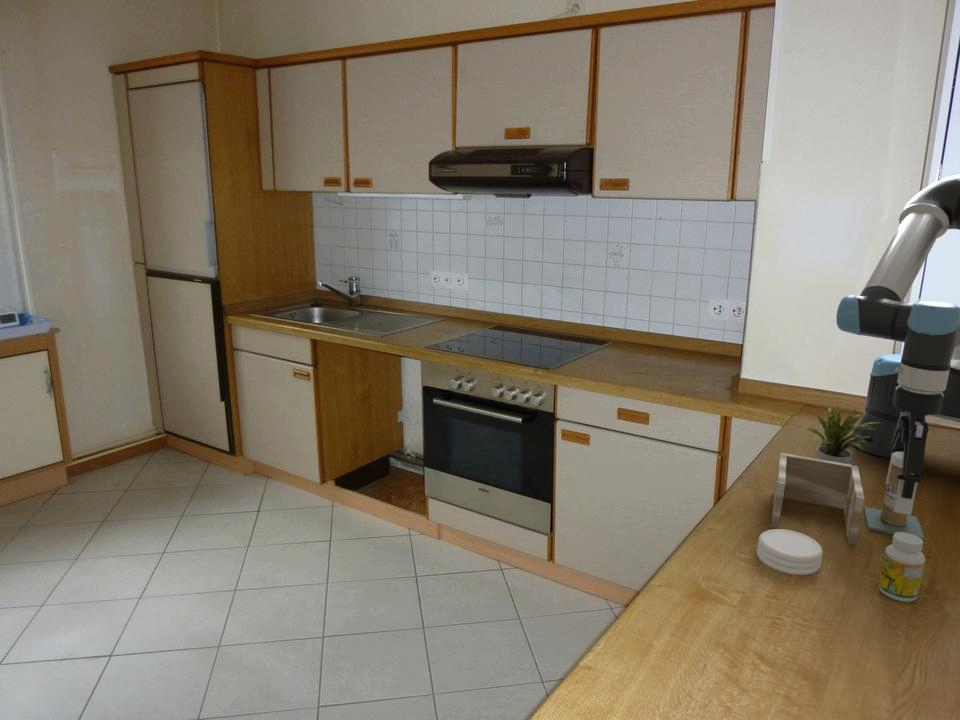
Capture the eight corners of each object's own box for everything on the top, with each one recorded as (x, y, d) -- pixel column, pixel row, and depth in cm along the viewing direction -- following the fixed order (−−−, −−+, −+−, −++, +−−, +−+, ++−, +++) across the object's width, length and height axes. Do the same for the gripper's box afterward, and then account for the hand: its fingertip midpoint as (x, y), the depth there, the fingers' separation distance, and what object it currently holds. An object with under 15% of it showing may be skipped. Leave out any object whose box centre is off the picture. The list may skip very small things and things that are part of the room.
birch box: (774, 493, 145) (780, 452, 143) (850, 508, 140) (857, 465, 138) (771, 527, 131) (778, 482, 129) (855, 544, 126) (864, 498, 123)
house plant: (854, 501, 143) (868, 425, 139) (785, 479, 152) (796, 407, 148) (875, 481, 153) (889, 409, 149) (809, 462, 162) (821, 394, 158)
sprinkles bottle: (874, 516, 135) (887, 450, 132) (896, 515, 136) (909, 450, 132) (890, 527, 131) (903, 460, 128) (912, 527, 132) (927, 460, 128)
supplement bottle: (924, 603, 109) (936, 547, 106) (889, 602, 109) (901, 546, 106) (904, 583, 114) (915, 530, 111) (871, 582, 114) (881, 529, 111)
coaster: (783, 540, 127) (785, 523, 126) (832, 568, 118) (836, 549, 117) (743, 553, 122) (746, 535, 121) (792, 582, 114) (795, 563, 113)
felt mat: (863, 509, 139) (864, 506, 139) (916, 519, 136) (917, 516, 136) (867, 529, 131) (868, 526, 131) (923, 540, 128) (924, 537, 128)
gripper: (888, 369, 139) (869, 471, 144) (904, 403, 117) (881, 521, 123) (933, 375, 136) (911, 478, 142) (957, 411, 115) (931, 531, 120)
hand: (897, 498), depth 132 cm, fingers open, 12 cm apart
